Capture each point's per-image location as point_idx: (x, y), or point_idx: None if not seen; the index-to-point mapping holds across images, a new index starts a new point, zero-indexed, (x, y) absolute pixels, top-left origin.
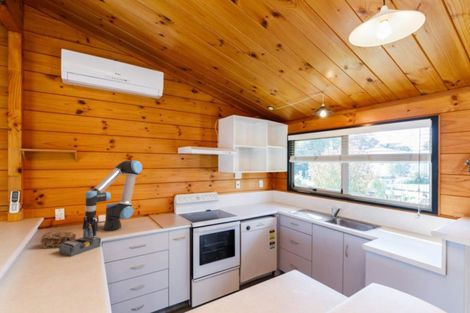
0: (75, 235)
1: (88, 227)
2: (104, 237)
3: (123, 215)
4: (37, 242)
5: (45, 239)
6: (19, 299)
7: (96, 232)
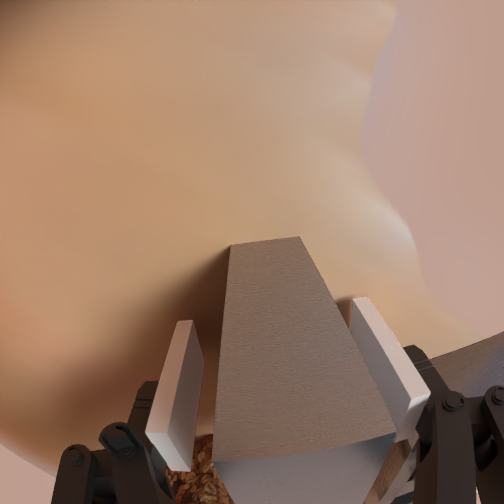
0: (220, 501)
1: (155, 493)
2: (346, 112)
3: None
4: (45, 466)
5: None
6: (476, 490)
7: (331, 299)
